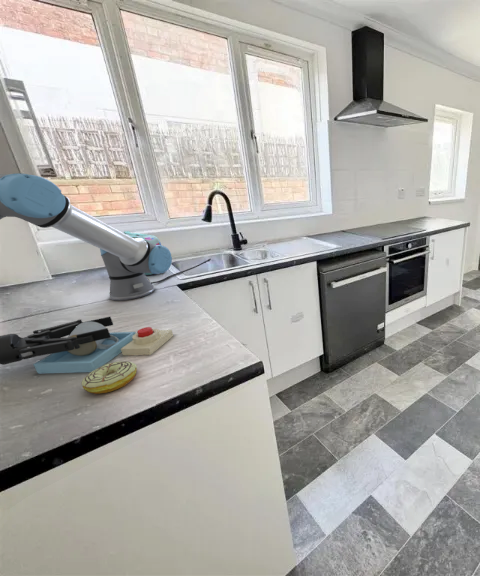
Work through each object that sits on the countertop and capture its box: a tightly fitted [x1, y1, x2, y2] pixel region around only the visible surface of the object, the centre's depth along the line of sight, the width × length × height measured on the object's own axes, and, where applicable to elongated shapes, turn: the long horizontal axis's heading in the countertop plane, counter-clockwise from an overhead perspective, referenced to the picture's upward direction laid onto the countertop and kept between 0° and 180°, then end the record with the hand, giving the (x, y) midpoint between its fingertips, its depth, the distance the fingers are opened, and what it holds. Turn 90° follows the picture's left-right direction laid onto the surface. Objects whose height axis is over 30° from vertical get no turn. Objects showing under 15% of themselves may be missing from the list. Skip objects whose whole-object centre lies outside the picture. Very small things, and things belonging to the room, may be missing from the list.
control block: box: [121, 328, 174, 356], centre depth 94 cm, size 11×8×4 cm
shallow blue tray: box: [33, 331, 137, 375], centre depth 89 cm, size 17×15×3 cm
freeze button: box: [136, 326, 153, 337], centre depth 93 cm, size 4×4×2 cm
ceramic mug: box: [67, 320, 119, 356], centre depth 90 cm, size 11×8×8 cm
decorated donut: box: [81, 360, 138, 395], centre depth 77 cm, size 10×11×4 cm
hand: (110, 326), depth 92 cm, fingers closed on ceramic mug, 9 cm apart
